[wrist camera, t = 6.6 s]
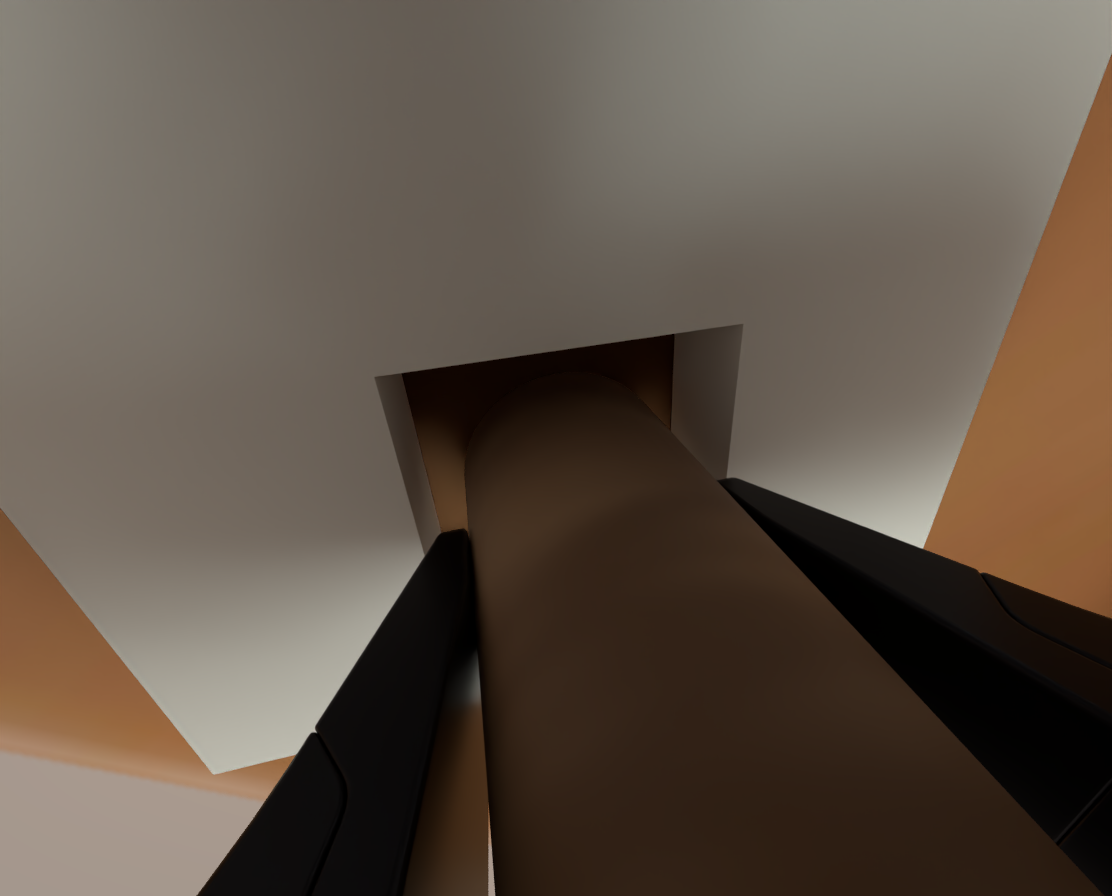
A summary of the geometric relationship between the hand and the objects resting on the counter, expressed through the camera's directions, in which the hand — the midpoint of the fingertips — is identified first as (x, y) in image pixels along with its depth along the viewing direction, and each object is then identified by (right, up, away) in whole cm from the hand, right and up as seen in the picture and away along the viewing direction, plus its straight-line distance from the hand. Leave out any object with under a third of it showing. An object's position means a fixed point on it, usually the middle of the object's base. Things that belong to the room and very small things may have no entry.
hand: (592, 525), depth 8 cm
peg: (0, +1, +2) cm, 2 cm away
